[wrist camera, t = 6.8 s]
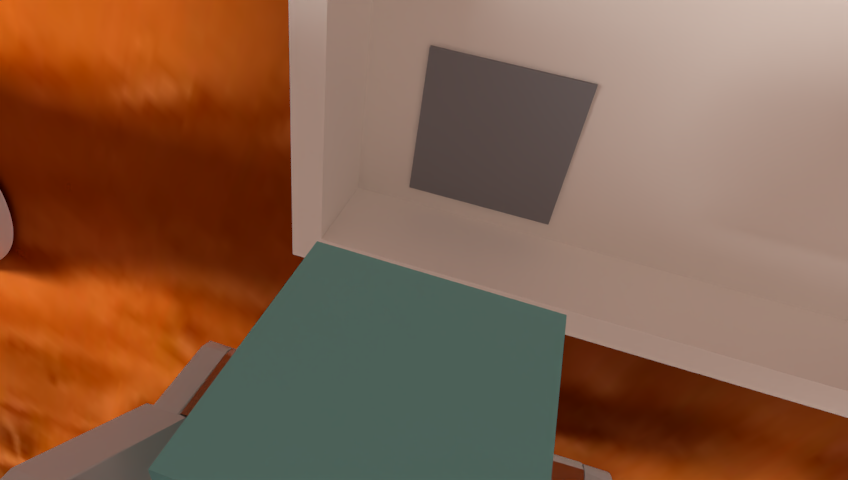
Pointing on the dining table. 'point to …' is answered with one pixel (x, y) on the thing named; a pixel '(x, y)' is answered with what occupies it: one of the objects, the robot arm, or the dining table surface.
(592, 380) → the dining table surface
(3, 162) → the dining table surface
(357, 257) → the cube
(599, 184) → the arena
